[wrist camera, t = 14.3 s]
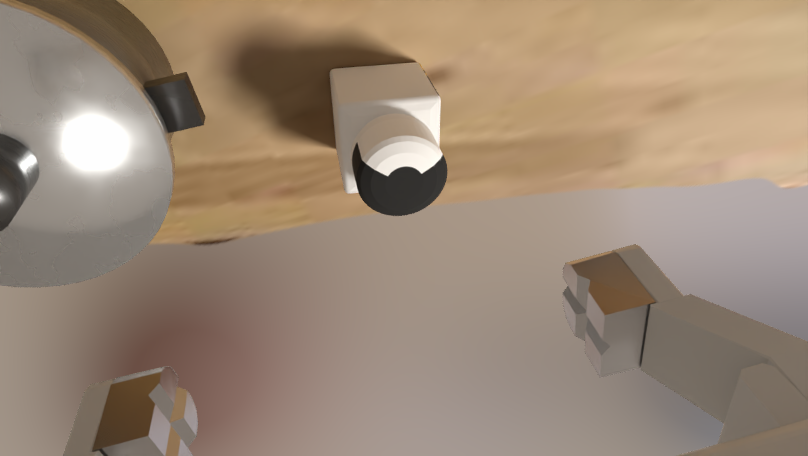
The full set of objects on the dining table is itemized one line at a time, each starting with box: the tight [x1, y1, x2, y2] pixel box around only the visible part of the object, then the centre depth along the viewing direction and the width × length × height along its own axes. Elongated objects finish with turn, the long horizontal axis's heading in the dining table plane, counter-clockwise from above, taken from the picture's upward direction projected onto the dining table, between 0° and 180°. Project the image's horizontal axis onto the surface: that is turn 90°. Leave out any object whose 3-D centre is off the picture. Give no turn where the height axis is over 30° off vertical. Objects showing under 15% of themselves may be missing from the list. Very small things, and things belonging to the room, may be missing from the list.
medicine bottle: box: [330, 62, 447, 216], centre depth 41 cm, size 7×7×12 cm
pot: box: [16, 0, 205, 140], centre depth 36 cm, size 17×22×10 cm
